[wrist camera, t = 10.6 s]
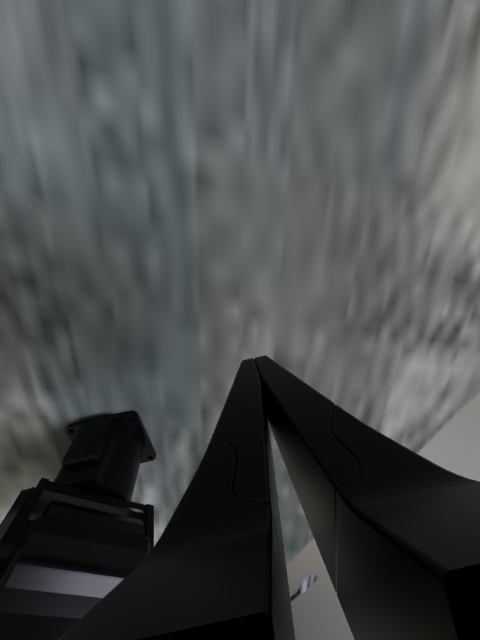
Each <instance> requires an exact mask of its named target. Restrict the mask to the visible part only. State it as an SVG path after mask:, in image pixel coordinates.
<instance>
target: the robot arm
mask: <svg viewBox="0 0 480 640" xmlns="http://www.w3.org/2000/svg"><path fill="white" fill-rule="evenodd" d="M132 417H134V418H132ZM268 421H269V424H270V427H271V430H272V432H273V435H274V437H275V440H276V442H277V445H278V447H279V450H280V452H281V455H282V457H283V460H284V462H285V465H286V467H287V470H288V473H289V475H290V478H291V480H292V483H293V485H294V488H295V490H296V493H297V495H298V498H299V500H300V503H301V505H302V508H303V510H304V513H305V515H306V518H307V521H308V523H309V526H310V528H311V531H312V533H313V536H314V538H315V541H316V543H317V546H318V548H319V551H320V553H321V556H322V558H323V561H324V564H325V566H326V569H327V571H328V574H329V576H330V579H331V581H332V584H333V586H334V589H335V591H336V592H337V597H338V599H339V602H340V604H341V607H342V609H343V612H344V614H345V617H346V619H347V622H348V624H349V627H350V629H351V632H352V634H353V637H354V639H355V640H480V482H478V481H475V480H471V479H468V478H465V477H462V476H460V475H457V474H455V473H452V472H450V471H448V470H446V469H444V468H442V467H440V466H437V465H436V464H434V463H432V462H431V461H429V460H427V459H425V458H423V457H422V456H420V455H418V454H417V453H415V452H413V451H411V450H409V449H408V448H406V447H404V446H402V445H401V444H399V443H397V442H395V441H394V440H392V439H390V438H388V437H386V436H385V435H383V434H381V433H380V432H378V431H376V430H374V429H373V428H371V427H369V426H368V425H366V424H364V423H363V422H361V421H360V420H358V419H357V418H355V417H354V416H352V415H351V414H349V413H348V412H346V411H345V410H343V409H342V408H340V407H339V406H338V405H335V404H334V403H333V402H332V401H330V400H329V399H327V398H326V397H324V396H323V395H322V394H320V393H319V392H317V391H316V390H314V389H313V388H312V387H310V386H309V385H307V384H306V383H304V382H303V381H302V380H300V379H299V378H297V377H296V376H294V375H293V374H292V373H290V372H289V371H287V370H286V369H284V368H283V367H282V366H280V365H279V364H277V363H276V362H274V361H273V360H272V359H270V358H269V357H267V356H261V357H256V358H255V359H253V358H251V359H247V360H243V361H242V362H241V365H240V367H239V370H238V372H237V375H236V377H235V380H234V382H233V385H232V387H231V390H230V392H229V395H228V398H227V400H226V403H225V405H224V408H223V410H222V413H221V415H220V418H219V420H218V423H217V425H216V428H215V431H214V432H215V433H213V435H212V438H211V440H210V443H209V445H208V448H207V450H206V452H205V455H204V457H203V459H202V461H201V463H200V465H199V467H198V469H197V471H196V473H195V475H194V477H193V479H192V481H191V482H190V484H189V486H188V488H187V490H186V492H185V494H184V495H183V497H182V499H181V501H180V503H179V505H178V506H177V508H176V510H175V512H174V514H173V516H172V517H171V519H170V521H169V523H168V525H167V527H166V528H165V530H164V532H163V534H162V535H161V537H160V539H159V540H158V542H157V543H156V545H155V546H154V506H153V505H149V504H147V505H144V504H140V503H136V502H132V501H131V499H132V495H133V491H134V486H135V482H136V478H137V474H138V470H139V466H140V463H144V462H149V461H153V460H154V459H155V458H156V452H155V450H154V448H153V445H152V443H151V441H150V439H149V437H148V434H147V432H146V430H145V428H144V426H143V423H142V421H141V419H140V417H139V415H138V413H136V412H128V413H123V414H118V415H113V416H108V417H103V418H99V419H94V420H89V421H84V422H79V423H74V424H70V425H69V426H68V427H67V429H66V433H67V435H68V436H69V438H70V439H71V441H72V444H71V446H70V447H69V449H68V451H67V453H66V455H65V457H64V459H63V460H62V462H61V465H62V467H61V469H60V471H59V473H58V475H57V477H56V479H55V481H54V482H51V481H49V479H46V478H41V480H40V481H39V483H38V485H37V486H36V488H34V487H32V488H31V489H26V490H22V491H21V493H20V494H19V496H18V497H17V499H16V501H15V502H14V504H13V505H12V507H11V509H10V510H9V512H8V513H7V515H6V517H5V518H4V520H3V521H2V523H1V524H0V640H295V634H294V626H293V617H292V609H291V601H290V593H289V584H288V577H287V568H286V560H285V552H284V544H283V536H282V528H281V520H280V512H279V504H278V495H277V487H276V479H275V471H274V463H273V455H272V447H271V439H270V431H269V424H268Z"/></svg>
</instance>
